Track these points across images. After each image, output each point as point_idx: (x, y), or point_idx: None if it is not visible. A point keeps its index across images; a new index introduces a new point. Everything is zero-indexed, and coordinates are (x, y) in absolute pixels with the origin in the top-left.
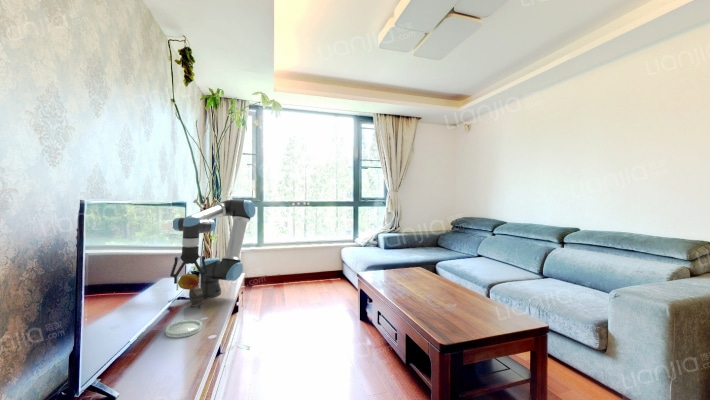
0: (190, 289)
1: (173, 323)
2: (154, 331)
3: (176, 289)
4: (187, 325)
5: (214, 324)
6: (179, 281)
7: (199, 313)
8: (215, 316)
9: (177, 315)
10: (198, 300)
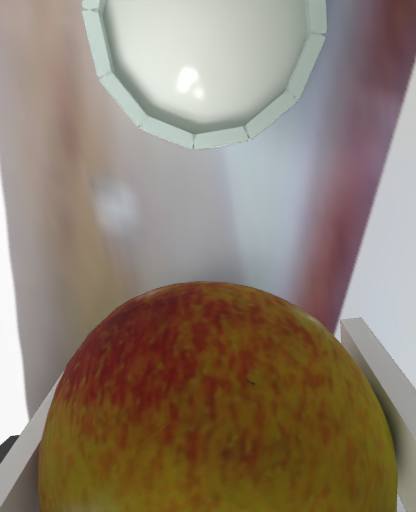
0: None
1: (287, 101)
2: (391, 63)
3: (365, 324)
4: (193, 77)
5: (27, 77)
6: (380, 411)
7: None
8: (54, 218)
9: (282, 295)
10: None
